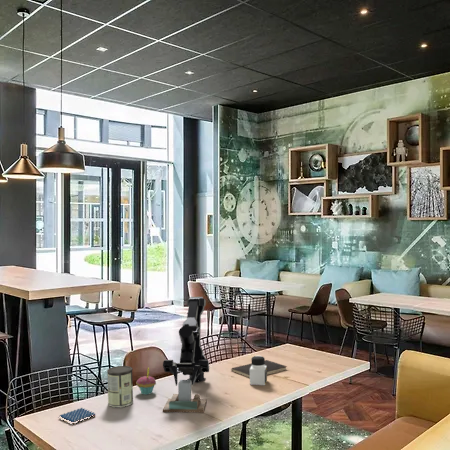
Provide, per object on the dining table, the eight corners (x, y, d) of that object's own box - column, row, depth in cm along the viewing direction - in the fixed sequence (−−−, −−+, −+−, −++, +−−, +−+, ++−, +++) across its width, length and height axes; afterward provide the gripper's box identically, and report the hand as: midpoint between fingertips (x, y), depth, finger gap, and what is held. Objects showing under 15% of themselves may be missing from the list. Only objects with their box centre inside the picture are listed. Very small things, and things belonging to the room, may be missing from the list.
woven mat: (57, 420, 184) (57, 415, 184) (81, 411, 192) (81, 406, 192) (72, 427, 177) (72, 421, 177) (96, 418, 185) (96, 412, 185)
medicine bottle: (265, 385, 219) (264, 359, 219) (249, 384, 220) (249, 358, 220) (267, 380, 226) (266, 355, 226) (251, 380, 227) (251, 354, 227)
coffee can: (116, 397, 206) (115, 364, 206) (137, 400, 203) (137, 366, 203) (102, 406, 197) (102, 371, 197) (124, 409, 193) (124, 373, 193)
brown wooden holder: (168, 401, 201) (168, 392, 201) (206, 401, 200) (206, 392, 200) (162, 412, 189) (162, 403, 189) (203, 412, 188) (203, 403, 188)
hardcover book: (287, 370, 242) (286, 366, 242) (251, 380, 229) (251, 375, 229) (266, 364, 255) (265, 359, 255) (231, 372, 242) (231, 367, 242)
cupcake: (160, 392, 212) (159, 365, 212) (144, 397, 206) (144, 369, 206) (148, 388, 218) (147, 361, 218) (132, 393, 212) (132, 365, 212)
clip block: (180, 401, 197) (180, 379, 197) (191, 402, 197) (191, 380, 197) (178, 405, 192) (178, 383, 192) (189, 406, 192) (189, 383, 192)
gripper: (211, 360, 209) (209, 394, 198) (168, 360, 210) (164, 394, 199) (209, 346, 201) (206, 381, 190) (165, 346, 203) (160, 381, 192)
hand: (184, 385), depth 193 cm, fingers open, 6 cm apart
